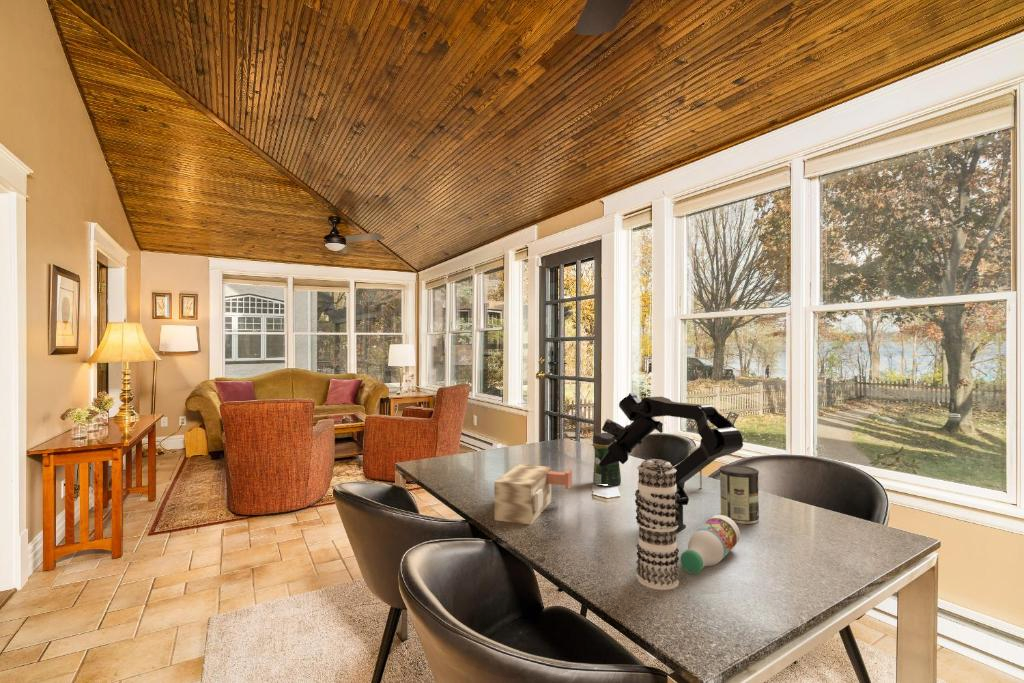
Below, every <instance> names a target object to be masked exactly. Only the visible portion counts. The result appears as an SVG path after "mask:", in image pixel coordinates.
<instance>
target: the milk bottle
mask: <svg viewBox="0 0 1024 683" xmlns="http://www.w3.org/2000/svg"><path fill="white" fill-rule="evenodd" d="M740 538H741V532H740V529H739V526H738V525H737V523H735V522H734V521H733V520H732V519H730V518H729V517H727V516H724V515H720V514H716V515H713V516H711V517H710V518H709V519H708V520H706V521H705V522H704V523H703V524H702V525H701V526H700V527H699V528H698V529H697V530H695V532H693V533H692V535H691V536H690V538H689V540H688V542H687V543H688V544H687V549H686V550H684V551H683V553H682V554H681V556H680V564H681V566H682V568H684V569H685V571H686V572H688V573H690V574H698V573H699V572H700V571H702V569H704V568H705V567H712V566H715V565H717V564H718V563H719V562H721V561H722V560H723V559H725V557H726V556H727V555H728V554H729V553H730V552H731V551H732V549H733V548H735V546H736V545H737V544H738V542H739V541H740Z"/></svg>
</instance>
